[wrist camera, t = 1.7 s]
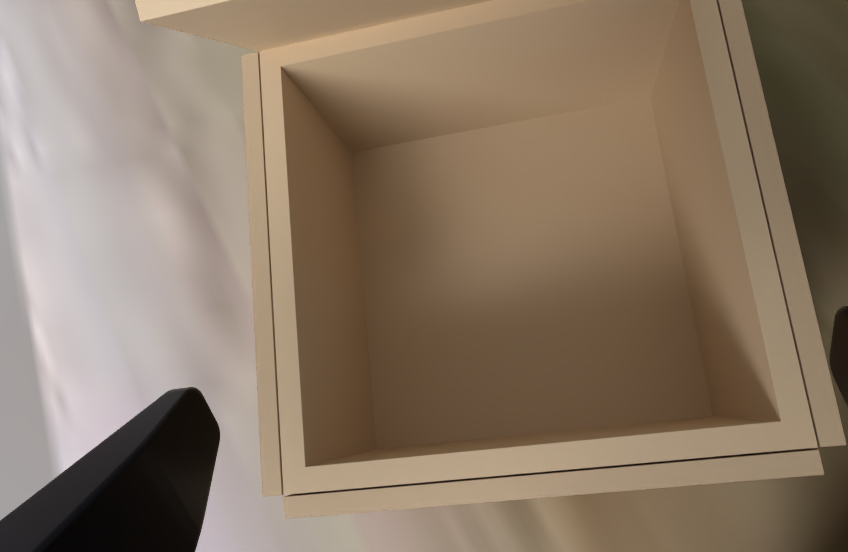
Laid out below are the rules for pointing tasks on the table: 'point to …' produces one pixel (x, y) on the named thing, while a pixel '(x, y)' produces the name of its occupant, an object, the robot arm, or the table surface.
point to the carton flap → (282, 17)
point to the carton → (525, 260)
